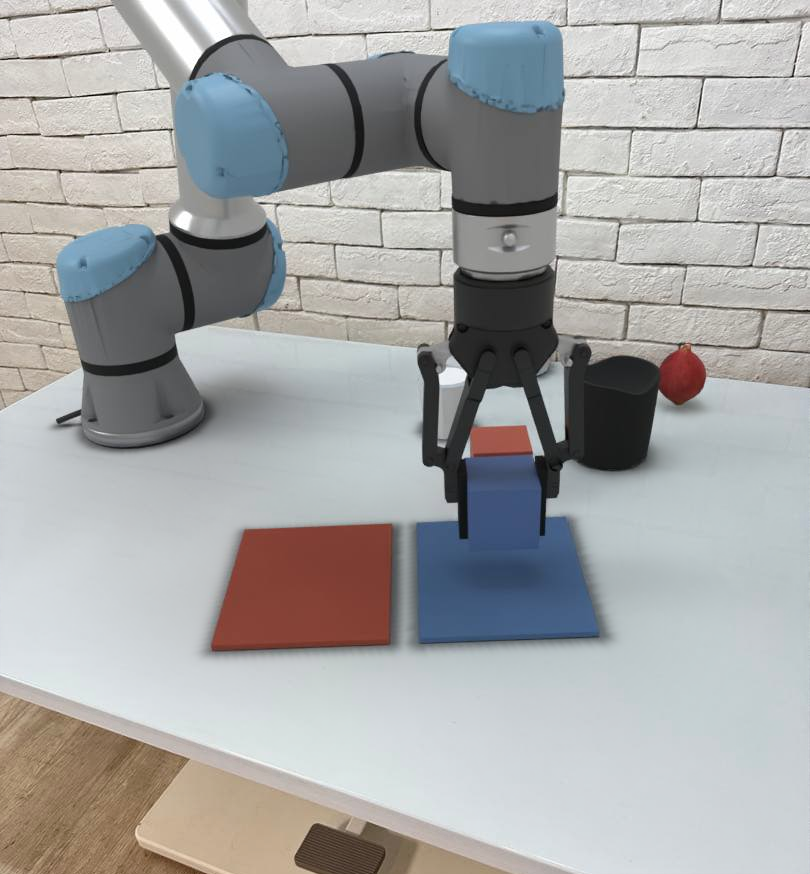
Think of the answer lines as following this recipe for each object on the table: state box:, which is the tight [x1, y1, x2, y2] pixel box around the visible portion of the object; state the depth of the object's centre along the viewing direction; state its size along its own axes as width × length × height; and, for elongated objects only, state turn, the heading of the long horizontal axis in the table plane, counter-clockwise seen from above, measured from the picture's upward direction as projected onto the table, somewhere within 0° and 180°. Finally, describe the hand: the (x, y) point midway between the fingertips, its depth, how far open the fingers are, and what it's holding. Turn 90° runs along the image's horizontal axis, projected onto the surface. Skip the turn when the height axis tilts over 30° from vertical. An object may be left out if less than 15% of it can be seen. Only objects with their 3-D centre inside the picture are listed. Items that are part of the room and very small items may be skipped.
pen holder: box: [577, 354, 661, 471], centre depth 95 cm, size 9×9×10 cm
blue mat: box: [416, 515, 600, 644], centre depth 78 cm, size 15×18×1 cm
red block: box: [469, 424, 534, 458], centre depth 90 cm, size 6×6×6 cm
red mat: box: [210, 522, 393, 651], centre depth 79 cm, size 15×18×1 cm
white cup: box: [417, 364, 467, 440], centre depth 103 cm, size 7×7×7 cm
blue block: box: [463, 454, 541, 552], centre depth 74 cm, size 6×6×6 cm
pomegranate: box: [658, 343, 707, 406], centre depth 105 cm, size 6×6×8 cm
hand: (500, 528), depth 76 cm, fingers closed on blue block, 6 cm apart
